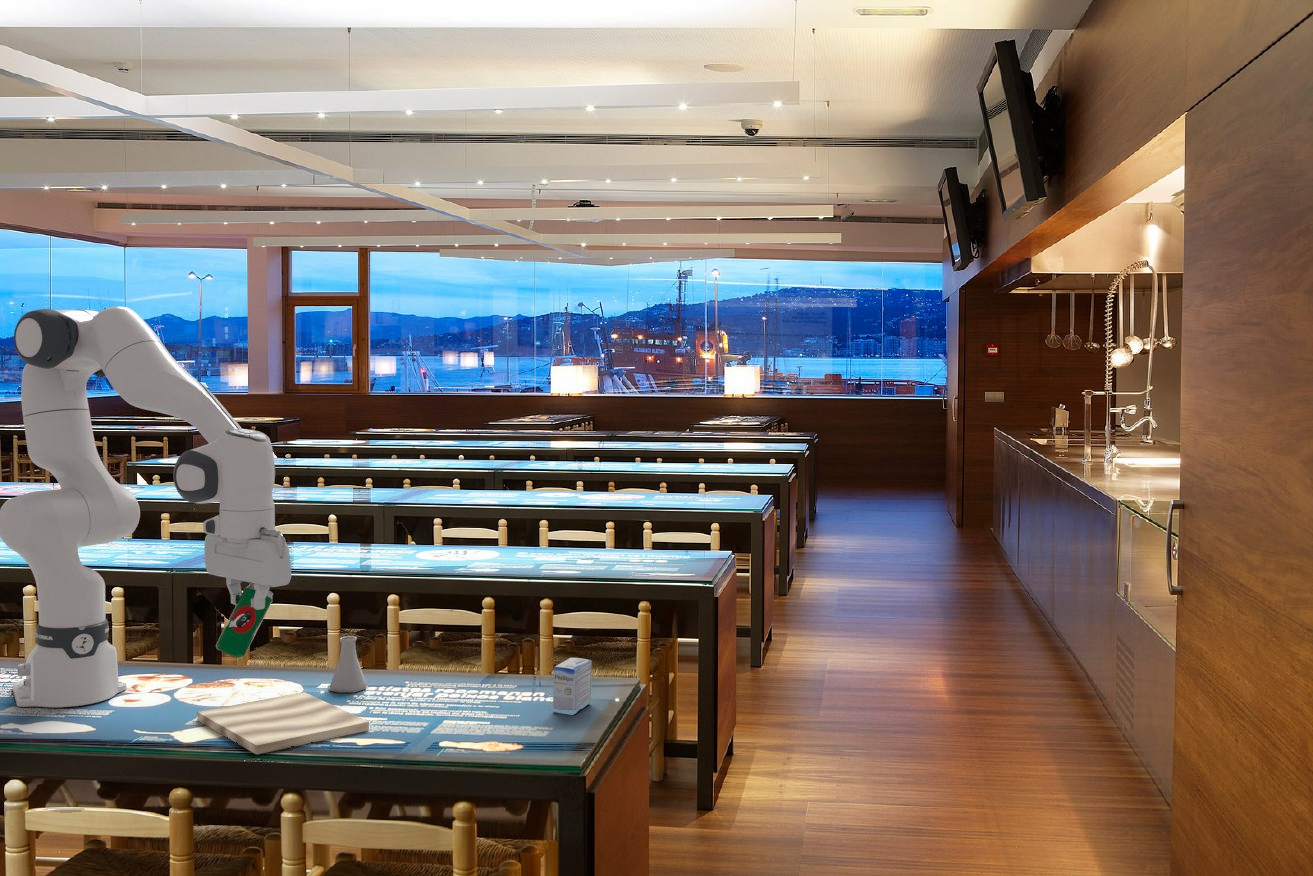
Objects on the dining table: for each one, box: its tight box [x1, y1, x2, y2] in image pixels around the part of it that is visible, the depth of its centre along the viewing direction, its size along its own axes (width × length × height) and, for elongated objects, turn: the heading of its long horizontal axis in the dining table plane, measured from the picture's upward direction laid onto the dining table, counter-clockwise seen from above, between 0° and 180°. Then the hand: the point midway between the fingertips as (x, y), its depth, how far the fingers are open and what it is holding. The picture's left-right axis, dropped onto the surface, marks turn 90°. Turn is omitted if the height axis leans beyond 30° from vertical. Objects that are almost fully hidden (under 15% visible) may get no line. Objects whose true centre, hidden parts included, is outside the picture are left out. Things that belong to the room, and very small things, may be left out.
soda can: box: [215, 582, 274, 660], centre depth 201 cm, size 5×5×12 cm
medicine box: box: [552, 657, 593, 710], centre depth 218 cm, size 8×4×9 cm, turn 161°
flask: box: [328, 635, 368, 693], centre depth 229 cm, size 7×7×10 cm
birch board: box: [196, 691, 370, 755], centre depth 205 cm, size 24×20×2 cm
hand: (247, 606), depth 201 cm, fingers open, 4 cm apart
